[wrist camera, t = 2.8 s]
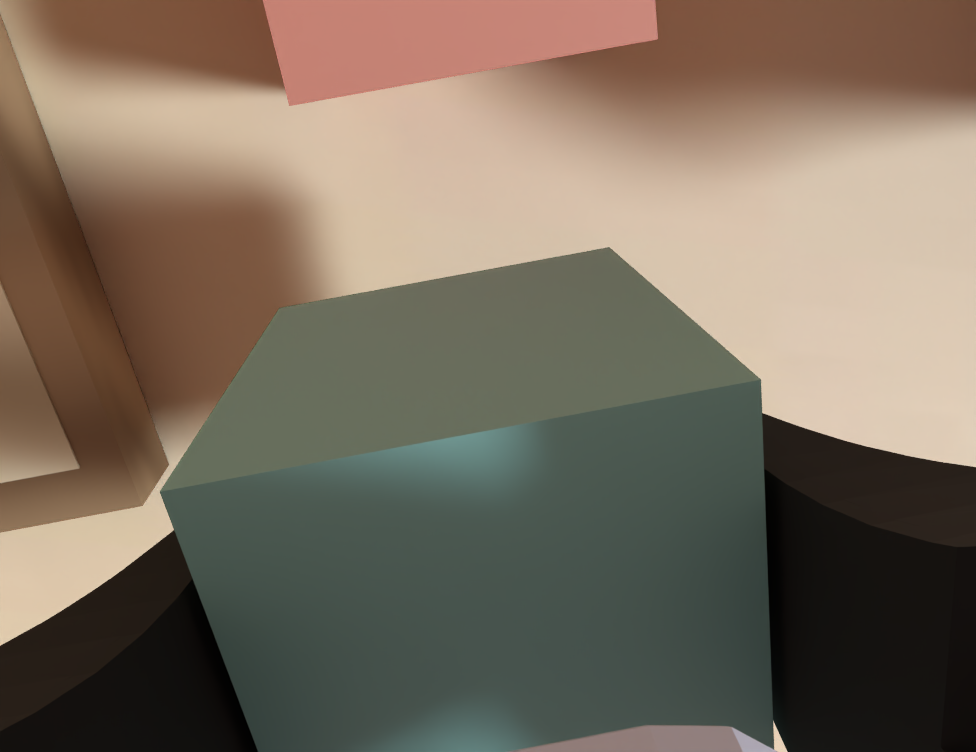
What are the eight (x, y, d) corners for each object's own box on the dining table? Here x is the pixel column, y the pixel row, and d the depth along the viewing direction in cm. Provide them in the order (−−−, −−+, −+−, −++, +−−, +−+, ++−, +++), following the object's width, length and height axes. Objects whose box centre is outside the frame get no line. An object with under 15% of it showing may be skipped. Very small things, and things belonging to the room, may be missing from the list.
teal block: (639, 528, 14) (776, 808, 9) (356, 581, 14) (313, 898, 9) (609, 247, 12) (759, 379, 7) (279, 308, 12) (159, 491, 7)
